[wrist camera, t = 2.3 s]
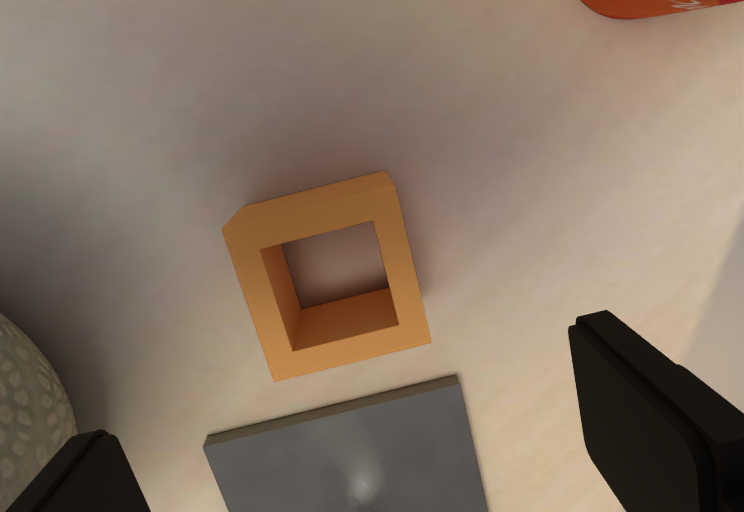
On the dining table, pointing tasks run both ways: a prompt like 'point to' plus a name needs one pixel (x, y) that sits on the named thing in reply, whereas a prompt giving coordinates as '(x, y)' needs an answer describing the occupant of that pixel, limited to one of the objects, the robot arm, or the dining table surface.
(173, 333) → the dining table surface
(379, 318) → the orange square collar
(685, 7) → the paper cup
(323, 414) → the keeper plate
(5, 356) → the planter
